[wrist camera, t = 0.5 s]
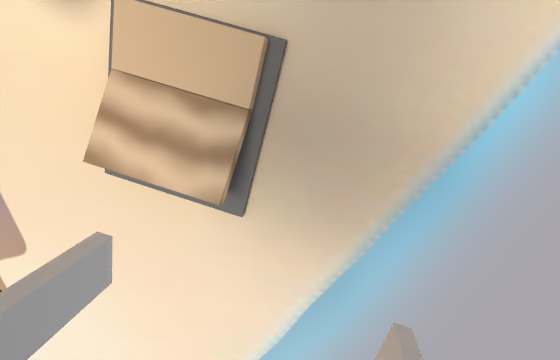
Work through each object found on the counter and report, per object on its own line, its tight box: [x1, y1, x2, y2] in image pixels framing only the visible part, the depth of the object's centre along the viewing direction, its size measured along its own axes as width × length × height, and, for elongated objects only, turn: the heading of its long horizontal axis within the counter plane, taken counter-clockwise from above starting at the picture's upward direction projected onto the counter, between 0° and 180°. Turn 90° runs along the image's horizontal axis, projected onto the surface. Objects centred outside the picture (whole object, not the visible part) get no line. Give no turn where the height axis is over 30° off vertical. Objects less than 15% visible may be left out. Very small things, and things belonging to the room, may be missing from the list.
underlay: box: [105, 0, 287, 217], centre depth 35 cm, size 24×22×3 cm
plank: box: [83, 69, 251, 205], centre depth 34 cm, size 12×18×2 cm, turn 75°
